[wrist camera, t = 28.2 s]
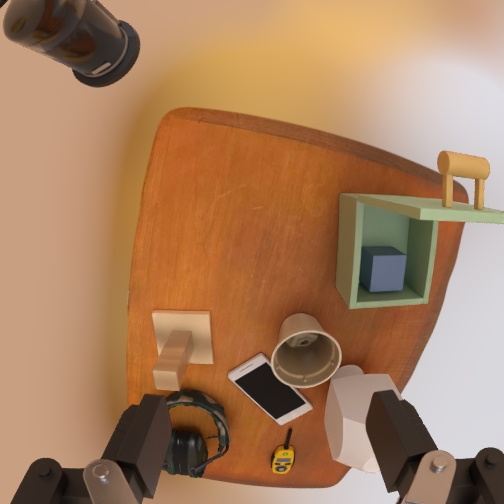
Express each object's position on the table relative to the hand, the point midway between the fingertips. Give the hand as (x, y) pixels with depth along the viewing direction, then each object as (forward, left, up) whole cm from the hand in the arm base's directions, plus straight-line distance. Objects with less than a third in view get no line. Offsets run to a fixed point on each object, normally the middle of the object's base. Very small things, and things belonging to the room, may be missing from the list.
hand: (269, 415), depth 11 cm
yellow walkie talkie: (+44, +5, -34) cm, 56 cm away
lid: (-6, +17, -18) cm, 26 cm away
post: (+16, -12, -34) cm, 40 cm away
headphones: (+36, -13, -34) cm, 52 cm away
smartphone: (+27, +2, -34) cm, 44 cm away
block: (+4, +17, -33) cm, 37 cm away
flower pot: (+15, +6, -34) cm, 38 cm away
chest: (+1, +17, -34) cm, 38 cm away
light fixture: (+25, +15, -34) cm, 45 cm away
